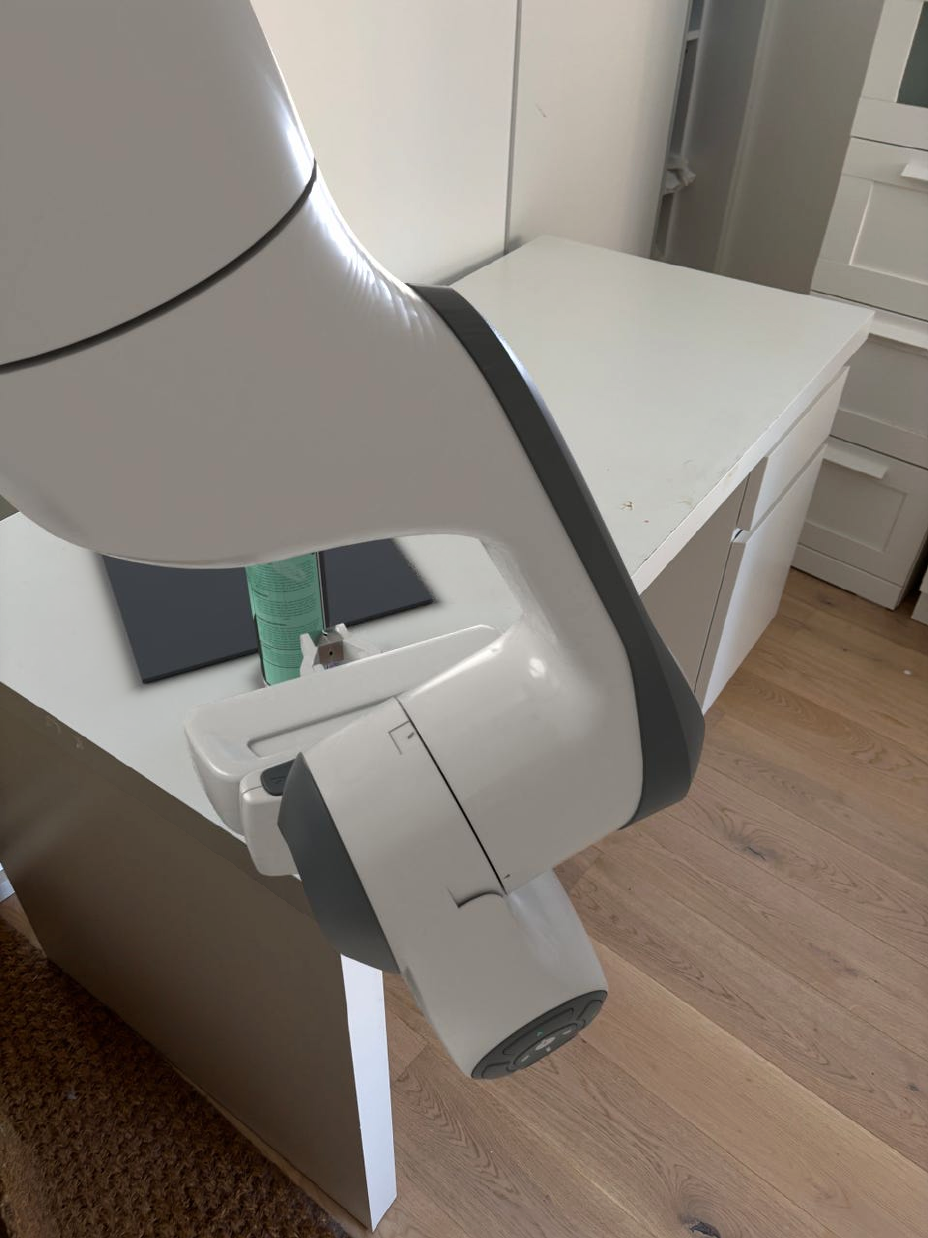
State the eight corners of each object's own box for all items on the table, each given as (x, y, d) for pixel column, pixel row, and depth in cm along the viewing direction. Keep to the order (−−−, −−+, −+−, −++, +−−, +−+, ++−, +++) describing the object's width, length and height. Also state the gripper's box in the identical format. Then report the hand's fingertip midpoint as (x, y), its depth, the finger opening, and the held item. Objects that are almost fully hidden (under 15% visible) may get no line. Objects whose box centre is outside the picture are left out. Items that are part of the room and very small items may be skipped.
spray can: (346, 661, 75) (328, 432, 63) (315, 708, 71) (289, 473, 59) (283, 645, 77) (253, 418, 64) (249, 690, 73) (210, 457, 60)
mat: (143, 683, 73) (142, 679, 73) (90, 520, 90) (89, 517, 89) (432, 602, 81) (432, 598, 81) (335, 466, 98) (335, 463, 97)
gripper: (574, 691, 54) (467, 558, 64) (214, 811, 47) (155, 641, 57) (564, 766, 58) (465, 631, 68) (231, 887, 51) (173, 717, 61)
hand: (321, 636), depth 62 cm, fingers closed
